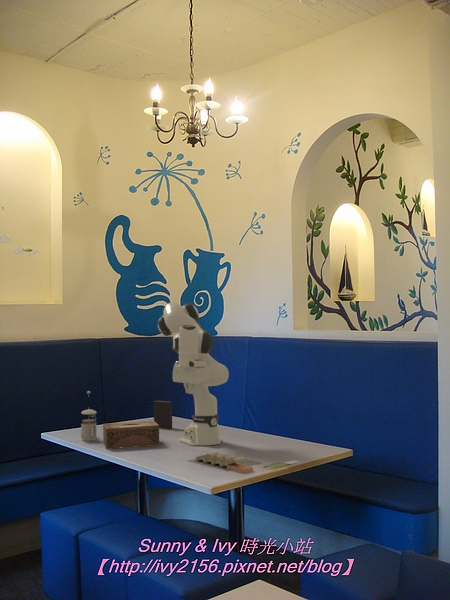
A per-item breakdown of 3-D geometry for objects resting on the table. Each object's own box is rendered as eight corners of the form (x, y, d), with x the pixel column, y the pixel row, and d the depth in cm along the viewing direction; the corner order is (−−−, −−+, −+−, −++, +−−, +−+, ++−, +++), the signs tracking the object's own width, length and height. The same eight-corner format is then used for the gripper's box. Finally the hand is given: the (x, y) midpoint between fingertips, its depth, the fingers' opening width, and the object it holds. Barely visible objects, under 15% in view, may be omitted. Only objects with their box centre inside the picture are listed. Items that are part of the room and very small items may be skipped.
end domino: (226, 464, 258) (243, 469, 251) (235, 462, 262) (252, 466, 254) (226, 468, 258) (244, 473, 251) (235, 466, 262) (253, 470, 254)
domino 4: (219, 462, 262) (234, 458, 254) (228, 460, 265) (243, 456, 258) (219, 466, 261) (235, 462, 254) (229, 464, 264) (244, 460, 257)
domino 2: (202, 459, 270) (217, 455, 263) (211, 457, 273) (226, 453, 266) (203, 463, 269) (218, 459, 262) (212, 461, 273) (227, 457, 266)
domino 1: (195, 457, 273) (209, 453, 266) (204, 455, 277) (218, 451, 270) (195, 461, 273) (210, 457, 266) (204, 459, 276) (219, 455, 269)
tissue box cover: (106, 449, 306) (106, 428, 306) (103, 443, 320) (103, 423, 320) (159, 445, 313) (159, 425, 313) (154, 440, 327) (153, 420, 327)
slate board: (186, 463, 274) (186, 460, 274) (221, 455, 287) (221, 453, 287) (227, 473, 254) (227, 471, 254) (262, 465, 268) (262, 463, 268)
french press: (76, 440, 328) (75, 391, 329) (86, 436, 339) (85, 389, 340) (93, 441, 326) (93, 392, 326) (103, 436, 337) (102, 389, 337)
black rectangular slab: (173, 428, 361) (172, 401, 361) (168, 429, 357) (168, 402, 357) (157, 426, 366) (157, 400, 367) (153, 427, 363) (152, 401, 363)
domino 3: (210, 461, 266) (225, 456, 259) (219, 459, 269) (234, 454, 262) (211, 465, 265) (226, 460, 258) (220, 463, 269) (235, 458, 262)
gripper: (169, 361, 287) (169, 392, 286) (197, 363, 271) (198, 396, 271) (180, 360, 291) (180, 391, 290) (209, 362, 276) (209, 394, 275)
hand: (189, 393), depth 281 cm, fingers closed
